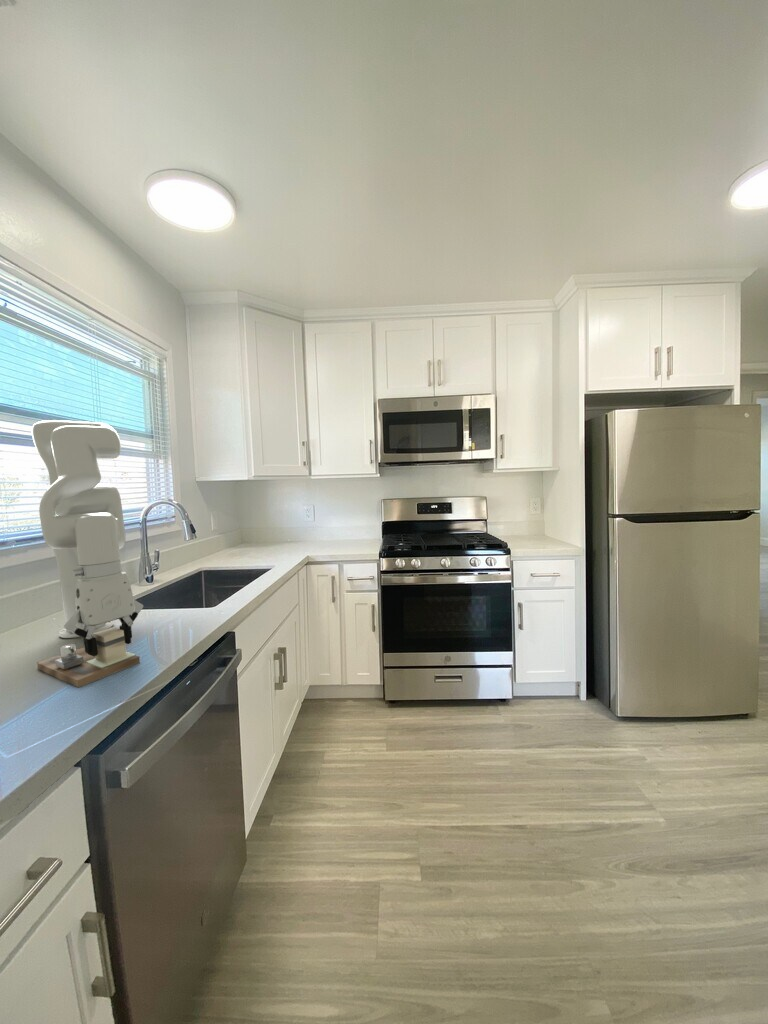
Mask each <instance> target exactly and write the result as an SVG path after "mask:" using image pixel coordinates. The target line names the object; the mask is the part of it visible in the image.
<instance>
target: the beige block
mask: <svg viewBox="0 0 768 1024" xmlns="http://www.w3.org/2000/svg"><path fill="white" fill-rule="evenodd" d="M93 637H95V638H96V642H97V651H98V655H97V656H95V657H96V660H98V661H101V662H104V663H110V662H112V661H115V660H118V659H120V658H123V657H125V656H126V651H127V649H126V643H125V636H124V630H120V628H115V627H110V628H108V629H106V630H103V631H99V632H96V633H94V634H93Z"/></svg>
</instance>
